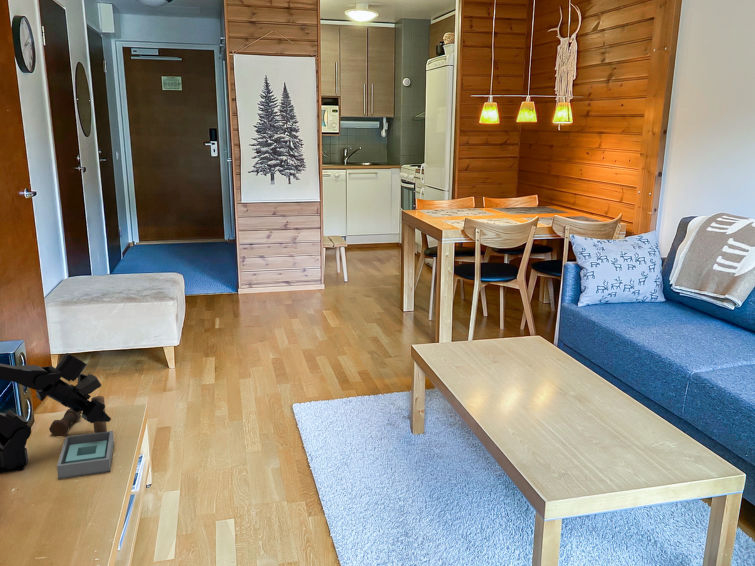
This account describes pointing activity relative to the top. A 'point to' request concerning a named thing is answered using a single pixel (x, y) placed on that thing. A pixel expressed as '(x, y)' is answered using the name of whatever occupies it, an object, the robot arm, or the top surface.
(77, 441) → the rim box
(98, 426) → the peg
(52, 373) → the robot arm
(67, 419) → the bolt
